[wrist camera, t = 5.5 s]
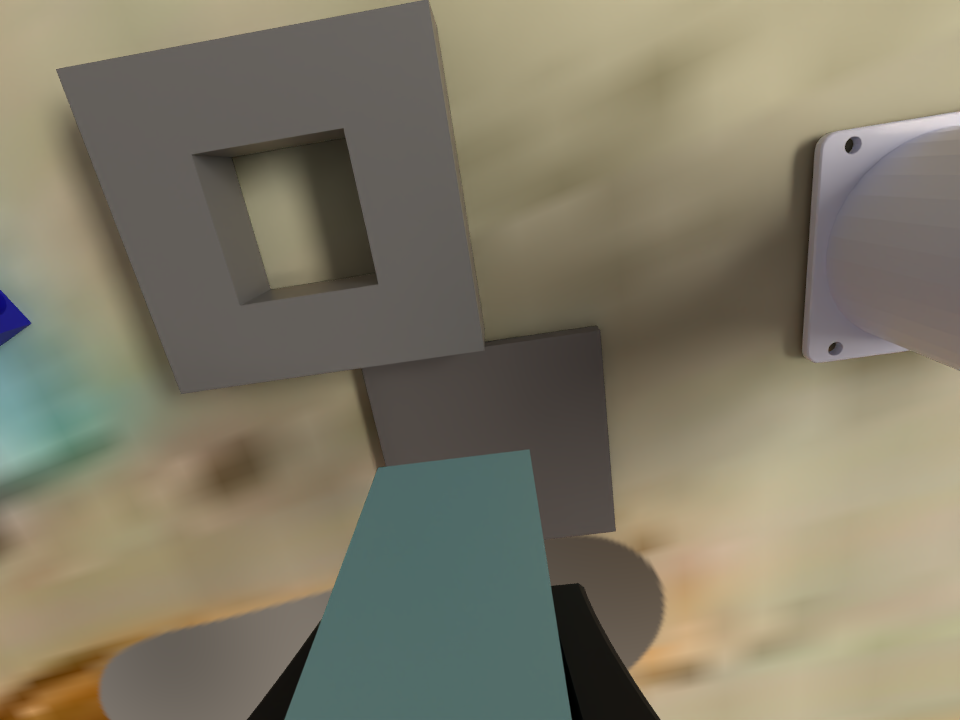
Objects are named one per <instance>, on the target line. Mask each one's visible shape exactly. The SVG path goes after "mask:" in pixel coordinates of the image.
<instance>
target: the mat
mask: <svg viewBox="0 0 960 720" xmlns="http://www.w3.org/2000/svg"><path fill="white" fill-rule="evenodd" d="M362 372H363V376H364V380H365V384H366V388H367V392H368V396H369V400H370V404H371V408H372V412H373V416H374V420H375V424H376V428H377V432H378V436H379V440H380V444H381V448H382V452H383V456H384V460H385V464H386V467H388V466H396V465H404V464H413V463H421V462H429V461H437V460H446V459H454V458H462V457H471V456H479V455H487V454H496V453H504V452H512V451H520V450H530V456H531V462H532V469H533V475H534V482H535V488H536V494H537V501H538V507H539V513H540V520H541V526H542V533H543V539H544V540H546V539H555V538H563V537H572V536H580V535H589V534H597V533H606V532H614V531H616V528H615V516H614V503H613V490H612V477H611V464H610V451H609V438H608V425H607V412H606V399H605V386H604V374H603V361H602V348H601V335H600V329H599V328H598V327H597V326H592V327H585V328H578V329H571V330H564V331H557V332H550V333H543V334H536V335H529V336H522V337H515V338H508V339H501V340H494V341H488V342H484V351H478V352H471V353H464V354H457V355H450V356H443V357H436V358H429V359H422V360H415V361H407V362H400V363H393V364H386V365H379V366H372V367H365V368H362Z"/></svg>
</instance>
